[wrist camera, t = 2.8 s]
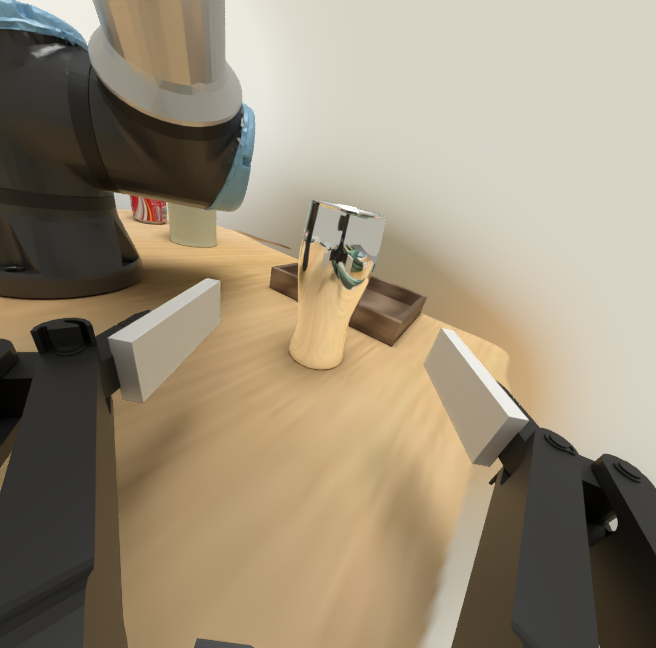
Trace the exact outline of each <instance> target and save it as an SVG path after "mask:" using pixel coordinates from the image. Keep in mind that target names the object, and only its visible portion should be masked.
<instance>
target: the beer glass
mask: <svg viewBox="0 0 656 648" xmlns="http://www.w3.org/2000/svg"><path fill="white" fill-rule="evenodd" d="M386 219H387V217H386V216H384V215H381V214H377V213H374V212H370V211H366V210H362V209H359V208H354V207H351V206H346V205H342V204H338V203H333V202H329V201H324V200H319V199H310V206H309V210H308V214H307V218H306V222H305V227H304V231H303V236H302V241H301V246H300V254H299V261H298V320H297V325H296V329H295V331H294V334H293V337H292V339H291V342H290V345H289V352H290V355H291V356H292V358H293V359H294V360H295V361H297V362H298V363H300V364H301V365H303V366H306V367H308V368H312V369H318V370H325V369H331V368H334V367H336V366H338V365H339V364H340V363H341V361H342V359H343V352H344V341H345V335H346V331H347V329H348V326H349V323H350V321H351V319H352V317H353V315H354V313H355V311H356V309H357V307H358V305H359V303H360V301H361V299H362V297H363V295H364V293H365V291H366V289H367V287H368V284H369V282H370V280H371V277H372V274H373V271H374V268H375V265H376V261H377V257H378V253H379V249H380V245H381V241H382V236H383V231H384V227H385V222H386Z"/></svg>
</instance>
